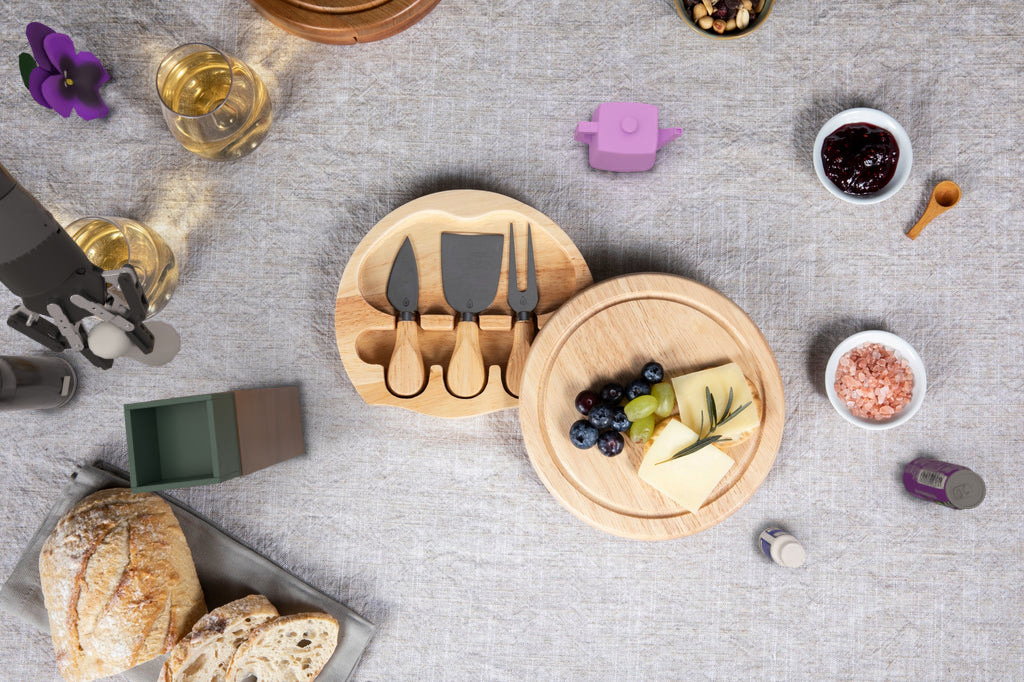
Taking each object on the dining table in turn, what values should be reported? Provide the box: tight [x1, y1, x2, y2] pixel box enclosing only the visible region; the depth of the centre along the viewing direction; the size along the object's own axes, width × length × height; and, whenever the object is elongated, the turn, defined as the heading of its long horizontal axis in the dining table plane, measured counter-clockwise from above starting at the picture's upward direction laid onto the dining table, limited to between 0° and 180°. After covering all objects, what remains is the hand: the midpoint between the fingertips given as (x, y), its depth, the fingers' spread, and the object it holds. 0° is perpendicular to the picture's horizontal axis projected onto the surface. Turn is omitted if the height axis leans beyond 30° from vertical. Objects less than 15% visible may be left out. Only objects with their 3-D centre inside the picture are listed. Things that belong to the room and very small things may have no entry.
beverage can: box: [902, 457, 987, 511], centre depth 110 cm, size 7×7×12 cm
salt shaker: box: [87, 320, 181, 367], centre depth 79 cm, size 6×6×13 cm
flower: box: [18, 21, 111, 122], centre depth 117 cm, size 15×15×14 cm
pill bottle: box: [758, 526, 807, 569], centre depth 112 cm, size 5×5×9 cm
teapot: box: [573, 101, 684, 173], centre depth 115 cm, size 18×10×10 cm, turn 87°
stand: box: [151, 385, 306, 478], centre depth 105 cm, size 12×12×26 cm
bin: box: [123, 392, 242, 495], centre depth 89 cm, size 12×12×7 cm
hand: (130, 356), depth 76 cm, fingers closed on salt shaker, 4 cm apart
